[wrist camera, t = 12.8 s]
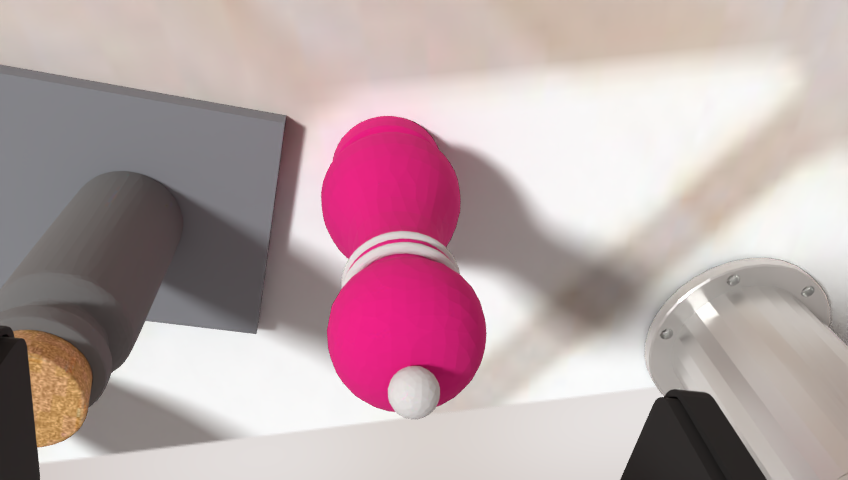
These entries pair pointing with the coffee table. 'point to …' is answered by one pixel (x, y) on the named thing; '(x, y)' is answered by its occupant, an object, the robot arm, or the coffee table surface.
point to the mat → (158, 159)
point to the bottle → (89, 293)
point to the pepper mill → (399, 271)
